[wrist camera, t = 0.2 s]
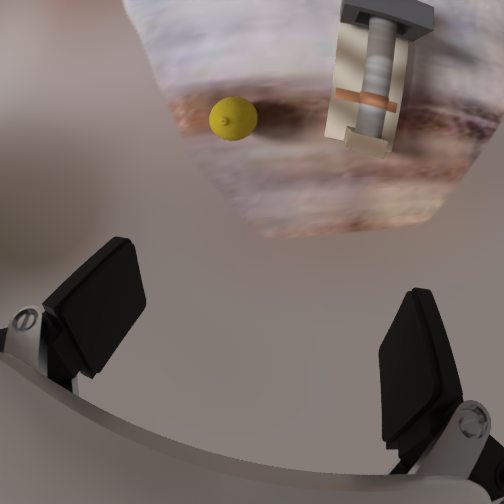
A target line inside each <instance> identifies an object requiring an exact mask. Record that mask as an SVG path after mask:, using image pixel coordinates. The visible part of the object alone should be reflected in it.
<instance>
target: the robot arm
mask: <svg viewBox="0 0 504 504" xmlns="http://www.w3.org/2000/svg"><path fill="white" fill-rule="evenodd" d="M42 305H43V307H44V309H45V312H44V313H42V311H41V310H40V308H39V307H37V306H33V305H30V306H26V307H23V308H21V309H19V310H18V311H17V312H16V313H14V315H13V316H12V317H11V319H10V322H9V325H8V327H7V328H4V329H0V504H504V447H503V446H502V445H500V443H499V442H497V441H496V440H495V439H494V438H493V437H492V436H491V435H490V430H491V419H490V415H489V413H488V411H487V409H486V408H485V407H484V406H483V405H482V404H481V403H479V402H477V401H473V400H469V401H463V396H462V395H463V393H462V388H461V384H460V379H459V375H458V372H457V368H456V364H455V361H454V357H453V354H452V350H451V347H450V343H449V340H448V337H447V334H446V331H445V328H444V325H443V322H442V319H441V316H440V313H439V310H438V308H437V305H436V303H435V300H434V297H433V295H432V292H431V291H430V290H428V289H422V288H413V289H412V291H408V292H407V293H406V295H405V297H404V299H403V302H402V304H401V306H400V308H399V310H398V312H397V314H396V316H395V318H394V321H393V323H392V325H391V327H390V329H389V330H388V332H387V334H386V336H385V338H384V340H383V342H382V344H381V346H380V349H379V367H380V382H381V403H382V439H383V441H384V442H386V449H398V451H399V452H398V456H399V458H398V459H397V461H396V462H395V463H394V464H393V465H392V467H391V468H390V469H389V470H388V471H387V472H386V473H385V474H384V475H352V474H333V473H319V472H310V471H301V470H293V469H286V468H279V467H274V466H268V465H263V464H257V463H253V462H248V461H243V460H239V459H235V458H230V457H227V456H223V455H219V454H215V453H212V452H208V451H205V450H202V449H198V448H195V447H192V446H188V445H186V444H183V443H180V442H177V441H174V440H171V439H168V438H166V437H163V436H161V435H158V434H156V433H153V432H151V431H148V430H146V429H143V428H141V427H139V426H136V425H134V424H132V423H130V422H127V421H125V420H123V419H121V418H119V417H116V416H114V415H112V414H110V413H108V412H106V411H104V410H102V409H100V408H98V407H96V406H95V405H93V404H91V403H89V402H87V401H85V400H84V399H82V398H80V397H79V391H78V382H77V374H78V372H79V371H80V372H81V373H82V374H83V375H85V376H87V377H89V378H91V379H93V378H94V376H95V375H96V373H99V372H101V370H102V369H103V367H104V366H105V365H106V363H107V362H108V360H109V359H110V357H111V356H112V354H113V353H114V351H115V350H116V348H117V347H118V345H119V344H120V343H121V341H122V340H123V338H124V337H125V336H126V334H127V333H128V331H129V330H130V329H131V327H132V326H133V324H134V323H135V322H136V320H137V319H138V317H139V316H140V315H141V313H142V312H143V311H144V309H145V307H146V298H145V293H144V289H143V284H142V280H141V275H140V270H139V265H138V261H137V255H136V250H135V246H134V244H132V242H131V240H130V239H128V238H122V237H114V238H112V239H111V240H110V241H109V242H107V243H106V244H105V245H104V246H103V247H102V248H101V249H99V250H98V251H97V252H96V253H95V254H94V255H93V256H91V257H90V258H89V259H88V260H87V261H86V262H85V263H84V264H83V265H81V266H80V267H79V268H78V269H77V270H76V271H75V272H74V273H73V274H72V275H71V276H70V277H69V278H68V279H67V280H65V281H64V282H63V283H62V284H61V285H60V286H59V287H58V288H57V289H56V290H55V291H54V292H53V293H52V294H51V295H50V296H49V297H48V298H47V299H46V300H45V301H44V302H43V303H42Z"/></svg>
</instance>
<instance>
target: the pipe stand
mask: <svg viewBox="0 0 504 504" xmlns="http://www.w3.org/2000/svg"><path fill="white" fill-rule="evenodd" d="M341 6H342V0H341ZM340 18H341V11H340ZM396 31H397V21H394V20H391V19H387V18H384V17H380V16H377V15H373V14H370V21H369V29H368V28H364V27H360V26H356V25H351V24H347V23H342V22H339V32H338V41H337V50H336V59H335V67H334V75H333V82H332V89H331V97H330V103H329V110H328V117H327V123H326V129H325V137H329V138H334V139H339V140H343V141H344V142H345V144H346V146H347V148H348V150H351V151H355V152H359V153H363V154H367V155H371V156H375V157H379V158H382V159H384V157H385V152H386V151H387V152H390V153H391V152H392V148H393V143H394V138H395V133H396V128H397V123H398V118H399V113H400V107H401V101H402V95H403V88H404V81H405V74H406V66H407V57H408V47H409V41H408V40H406V39H403V38H400V37H396Z"/></svg>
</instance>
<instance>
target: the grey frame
mask: <svg viewBox="0 0 504 504" xmlns="http://www.w3.org/2000/svg"><path fill="white" fill-rule="evenodd" d="M370 14H373V15H377V16H380V17H384V18H387V19H391V20H394V21H397V31H396V37H400V38H403V39H406V40H408V41H411V42H412V41H414V40H416V39H418V38H420V37H422V36H424V35H425V34H427V33H429V32H431V31H433V27H434V7H432V6H430V5H428V4H425V3H422V2H420V1H417V0H342V6H341V18H340V22H342V23H347V24H351V25H356V26H360V27H364V28H368V29H369V21H370Z"/></svg>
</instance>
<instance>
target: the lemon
mask: <svg viewBox="0 0 504 504" xmlns="http://www.w3.org/2000/svg"><path fill="white" fill-rule="evenodd" d="M257 116H258V115H257V112H256V109H255V107H254V106H253V105H252V104H251V103H250V102H249V101H248V100H246V99H244V98H241V97H228V98H225V99H223V100H221V101H219V102H218V103H217V104H216V105H215V106H214V107H213V109H212V110H211V113H210V117H209V122H210V126H211V129H212V130H213V132H214V133H215V134H216V135H217V136H218V137H220V138H222V139H225V140H229V141H235V140H240V139H243V138H245V137H247V136H248V135H250V134H251V133H252V132H253V130H254V129H255V127H256V124H257Z"/></svg>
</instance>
